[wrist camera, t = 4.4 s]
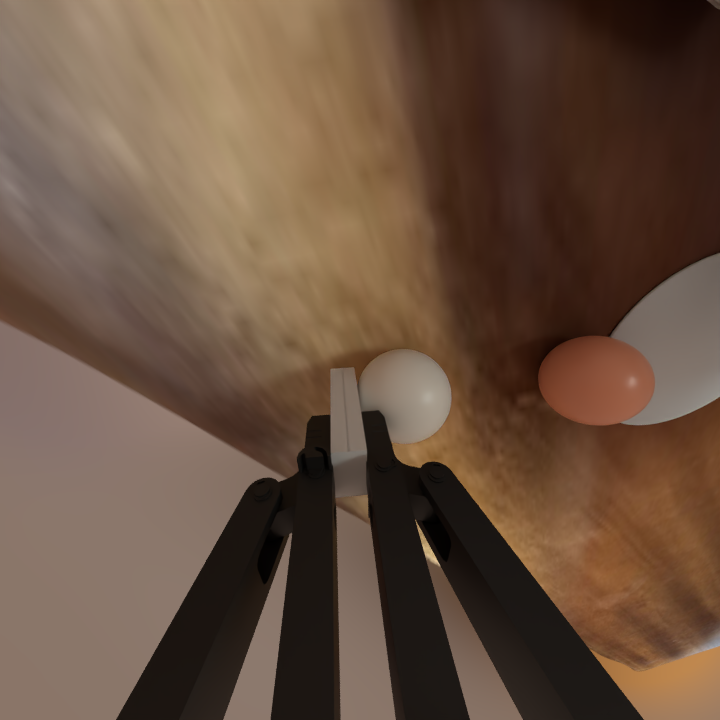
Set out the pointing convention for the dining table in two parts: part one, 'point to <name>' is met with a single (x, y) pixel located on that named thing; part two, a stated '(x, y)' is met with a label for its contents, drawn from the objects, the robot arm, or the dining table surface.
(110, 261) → the dining table surface
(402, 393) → the ivory ball
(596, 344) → the coral ball
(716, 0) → the salad plate
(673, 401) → the oval plate
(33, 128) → the dining table surface
